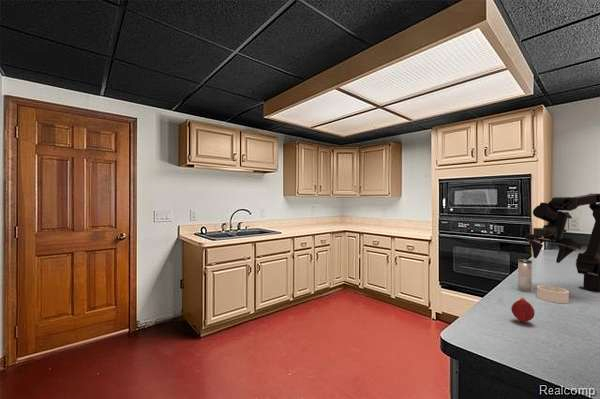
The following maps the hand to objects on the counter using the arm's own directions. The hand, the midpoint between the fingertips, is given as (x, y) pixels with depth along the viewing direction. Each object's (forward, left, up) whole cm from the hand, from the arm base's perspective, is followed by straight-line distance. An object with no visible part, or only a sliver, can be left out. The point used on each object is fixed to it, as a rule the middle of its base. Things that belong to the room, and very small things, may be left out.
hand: (545, 260), depth 122 cm
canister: (+5, -5, -14) cm, 15 cm away
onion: (+40, +19, -14) cm, 47 cm away
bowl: (+6, +6, -14) cm, 16 cm away
